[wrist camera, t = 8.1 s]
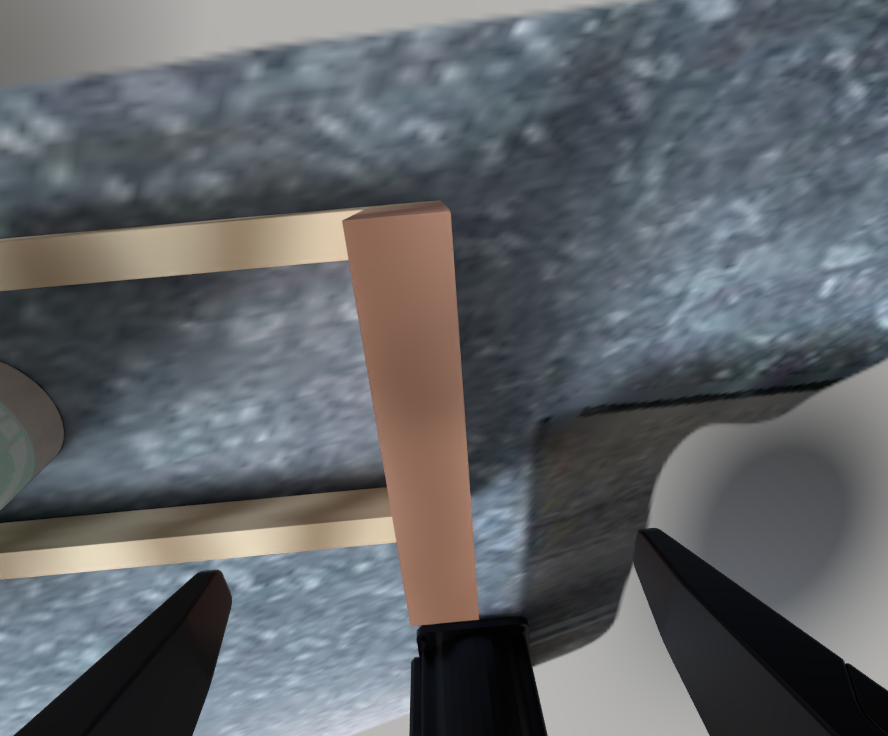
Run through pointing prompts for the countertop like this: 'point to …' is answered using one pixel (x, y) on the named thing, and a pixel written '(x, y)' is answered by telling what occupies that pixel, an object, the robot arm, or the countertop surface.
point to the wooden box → (391, 382)
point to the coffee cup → (25, 431)
